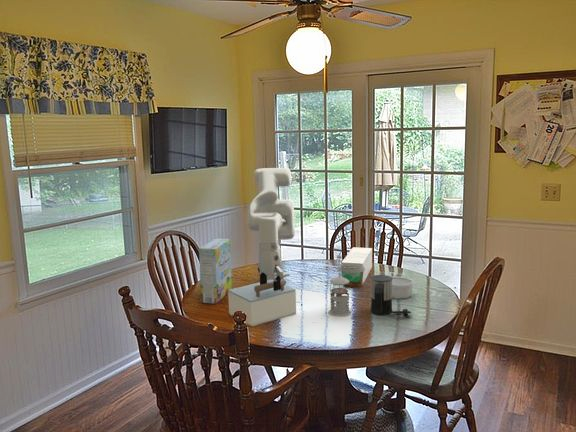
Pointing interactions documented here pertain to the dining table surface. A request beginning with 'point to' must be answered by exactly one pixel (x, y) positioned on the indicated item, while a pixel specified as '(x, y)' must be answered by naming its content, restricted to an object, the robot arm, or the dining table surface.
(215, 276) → the snack box
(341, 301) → the french press
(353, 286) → the food container
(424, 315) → the dining table surface
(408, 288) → the ramekin
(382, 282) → the milk frother
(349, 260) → the long white box
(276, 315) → the carton
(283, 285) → the lid flap
